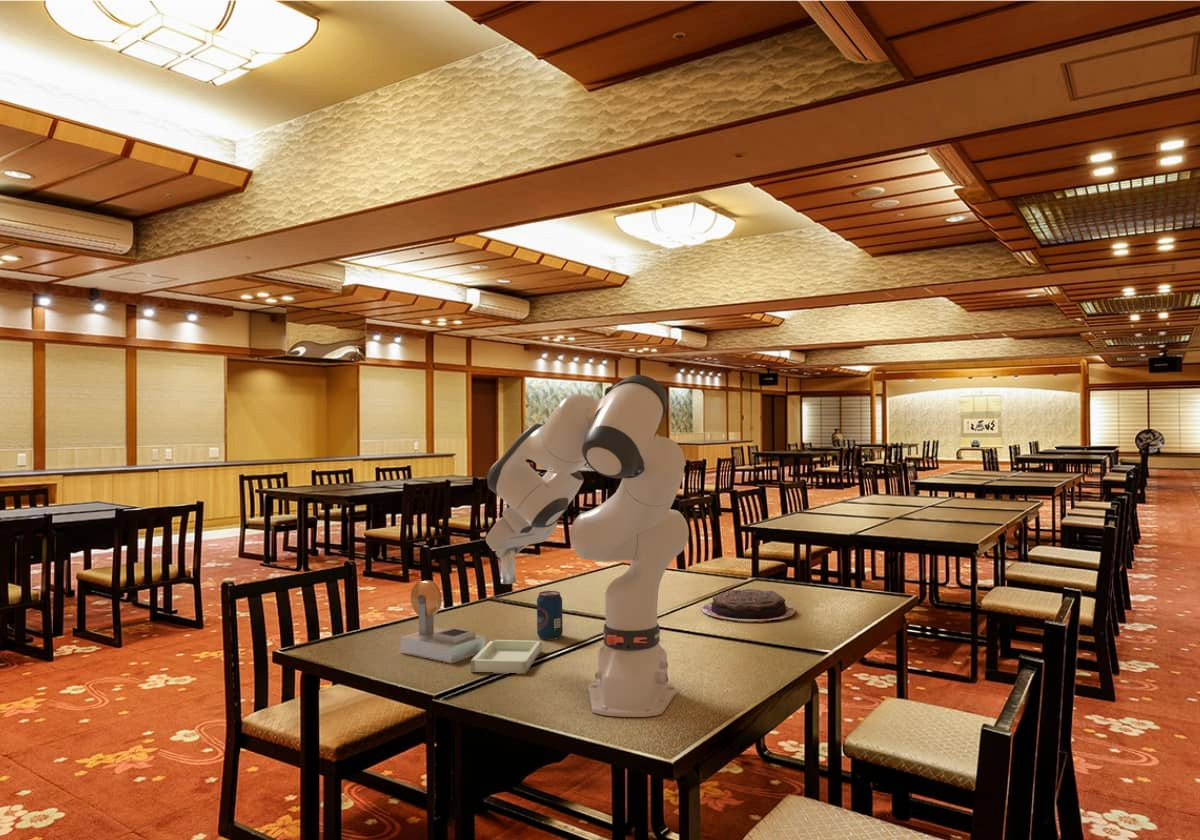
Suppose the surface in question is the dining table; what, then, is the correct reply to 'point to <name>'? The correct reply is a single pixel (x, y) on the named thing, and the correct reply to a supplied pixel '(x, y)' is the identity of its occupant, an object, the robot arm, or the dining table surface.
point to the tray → (506, 656)
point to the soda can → (549, 615)
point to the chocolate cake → (748, 606)
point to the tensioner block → (437, 630)
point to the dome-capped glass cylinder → (508, 567)
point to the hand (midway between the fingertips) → (505, 554)
